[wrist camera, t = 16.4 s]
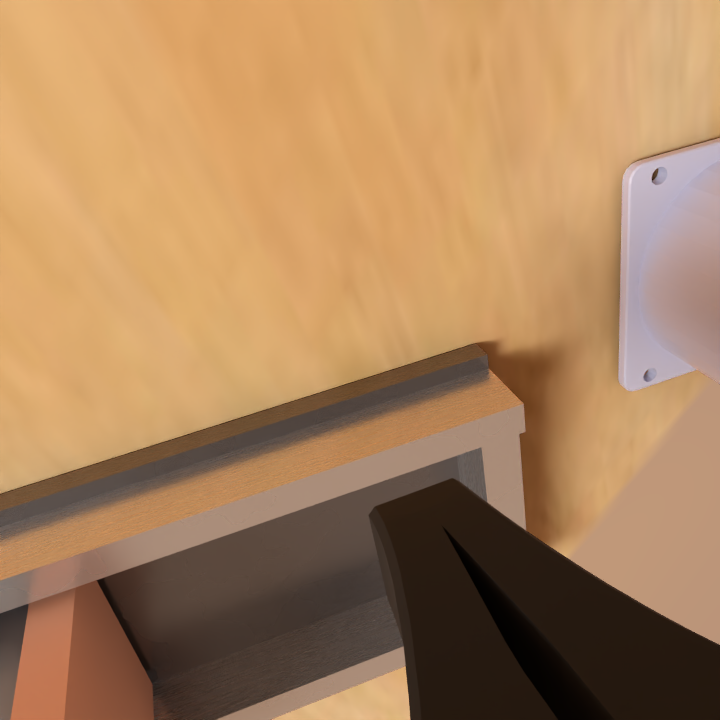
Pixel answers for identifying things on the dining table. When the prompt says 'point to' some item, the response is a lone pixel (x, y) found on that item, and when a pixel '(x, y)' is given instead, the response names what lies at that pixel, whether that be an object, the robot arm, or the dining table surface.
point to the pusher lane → (265, 534)
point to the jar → (10, 655)
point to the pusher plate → (79, 662)
